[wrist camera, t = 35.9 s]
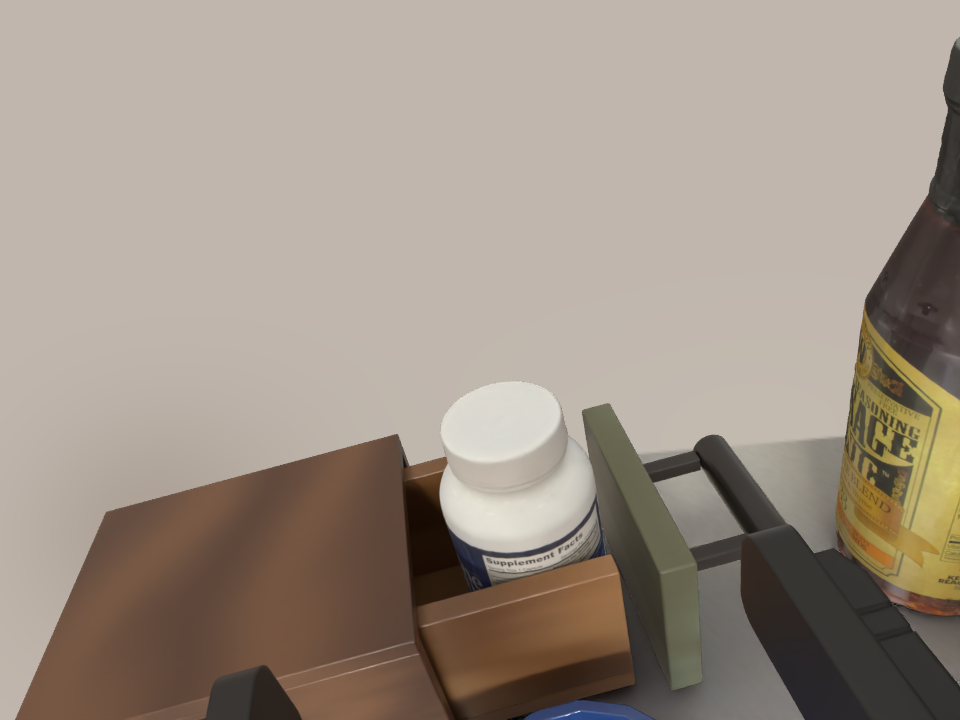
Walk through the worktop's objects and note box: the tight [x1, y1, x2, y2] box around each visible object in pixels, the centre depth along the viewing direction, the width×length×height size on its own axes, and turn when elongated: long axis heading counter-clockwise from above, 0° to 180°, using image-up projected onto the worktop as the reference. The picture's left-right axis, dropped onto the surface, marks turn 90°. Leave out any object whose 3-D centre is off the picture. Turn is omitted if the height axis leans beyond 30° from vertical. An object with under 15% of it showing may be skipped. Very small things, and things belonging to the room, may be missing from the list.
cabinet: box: [15, 434, 455, 720], centre depth 25 cm, size 12×10×8 cm
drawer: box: [404, 404, 787, 720], centre depth 26 cm, size 16×8×7 cm, turn 99°
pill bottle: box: [440, 381, 606, 592], centre depth 24 cm, size 5×5×10 cm
